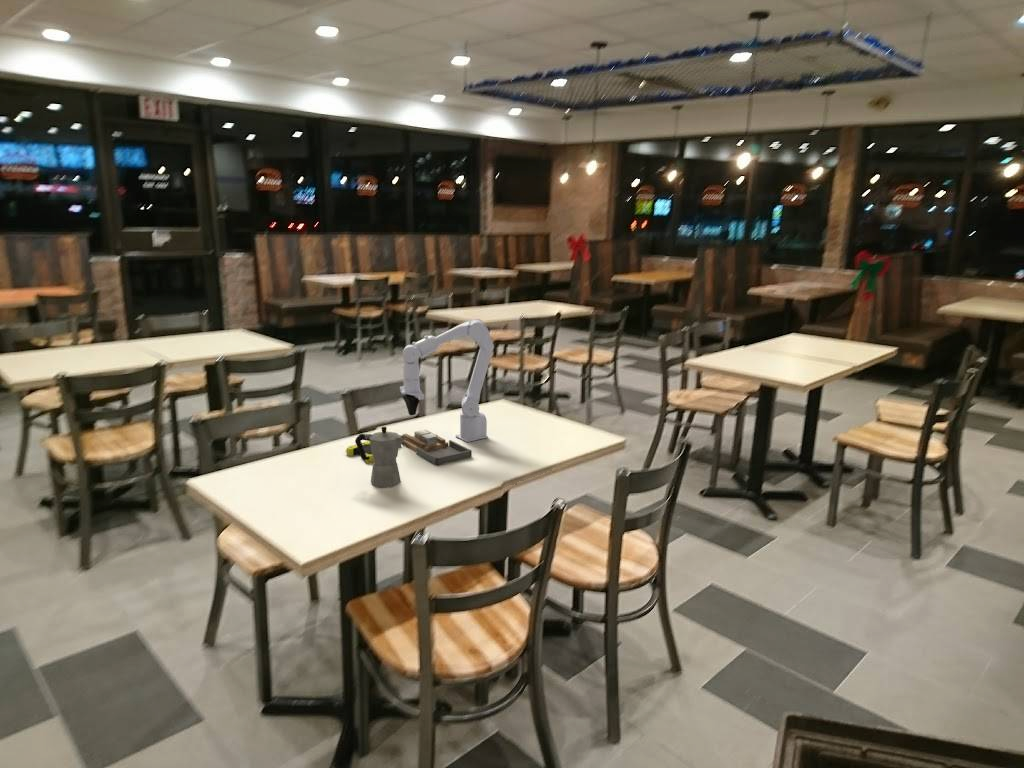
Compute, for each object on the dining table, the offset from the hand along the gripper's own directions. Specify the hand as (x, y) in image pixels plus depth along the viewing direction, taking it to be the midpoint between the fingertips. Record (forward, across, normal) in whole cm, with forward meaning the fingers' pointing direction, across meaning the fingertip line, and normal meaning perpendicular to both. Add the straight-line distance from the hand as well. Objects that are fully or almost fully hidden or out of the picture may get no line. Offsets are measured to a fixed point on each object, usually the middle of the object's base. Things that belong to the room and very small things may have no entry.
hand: (412, 414), depth 243 cm
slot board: (+9, +8, 0) cm, 12 cm away
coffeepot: (+10, +31, -28) cm, 43 cm away
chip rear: (+8, +7, 0) cm, 11 cm away
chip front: (+8, +12, 0) cm, 14 cm away
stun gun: (+10, +6, -17) cm, 20 cm away
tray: (+9, +22, 0) cm, 24 cm away
